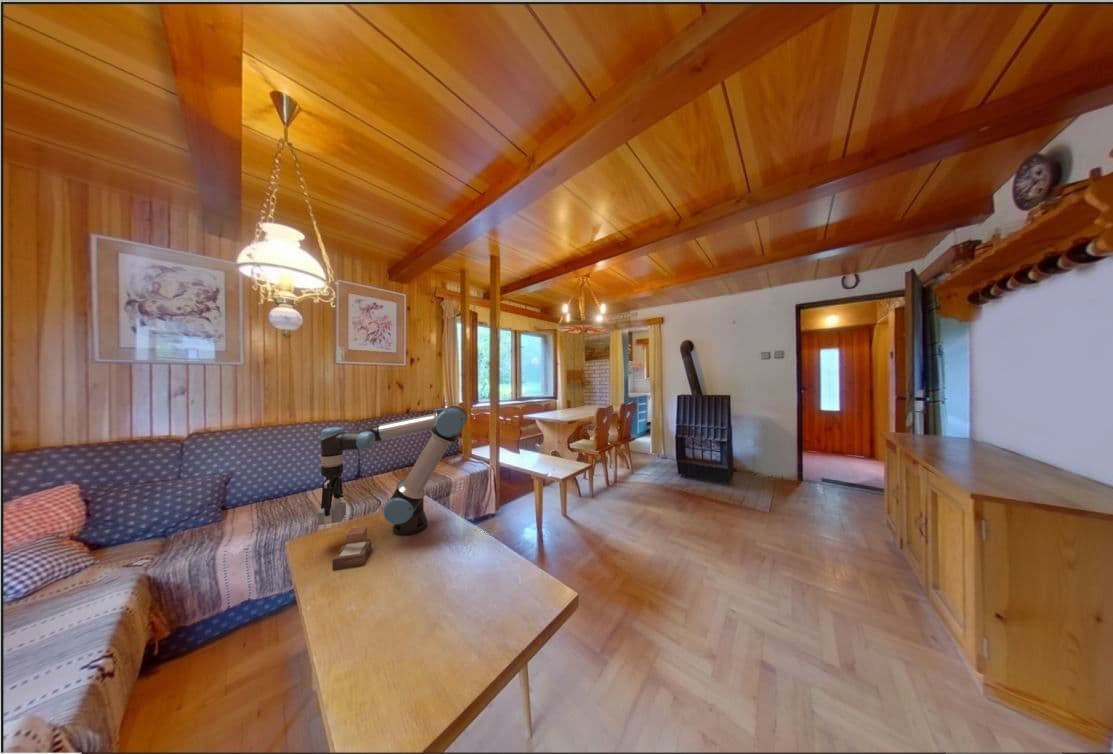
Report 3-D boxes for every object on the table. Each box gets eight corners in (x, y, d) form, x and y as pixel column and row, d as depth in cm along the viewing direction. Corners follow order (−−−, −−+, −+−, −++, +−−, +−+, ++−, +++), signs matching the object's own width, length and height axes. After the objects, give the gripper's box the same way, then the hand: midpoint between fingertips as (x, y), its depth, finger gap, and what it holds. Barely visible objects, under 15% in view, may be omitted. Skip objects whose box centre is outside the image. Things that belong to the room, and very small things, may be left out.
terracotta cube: (351, 541, 136) (351, 528, 136) (366, 539, 138) (366, 526, 138) (346, 549, 131) (346, 535, 130) (362, 547, 132) (362, 533, 132)
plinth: (344, 552, 128) (344, 542, 128) (371, 548, 131) (371, 539, 131) (332, 570, 116) (332, 559, 116) (362, 565, 119) (362, 555, 119)
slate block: (323, 516, 133) (323, 505, 132) (345, 513, 136) (345, 502, 136) (317, 525, 125) (317, 513, 125) (341, 521, 128) (341, 509, 128)
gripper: (332, 458, 139) (332, 508, 139) (309, 473, 119) (310, 531, 119) (351, 457, 141) (351, 506, 142) (332, 471, 121) (332, 528, 121)
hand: (332, 518), depth 130 cm, fingers closed on slate block, 8 cm apart
